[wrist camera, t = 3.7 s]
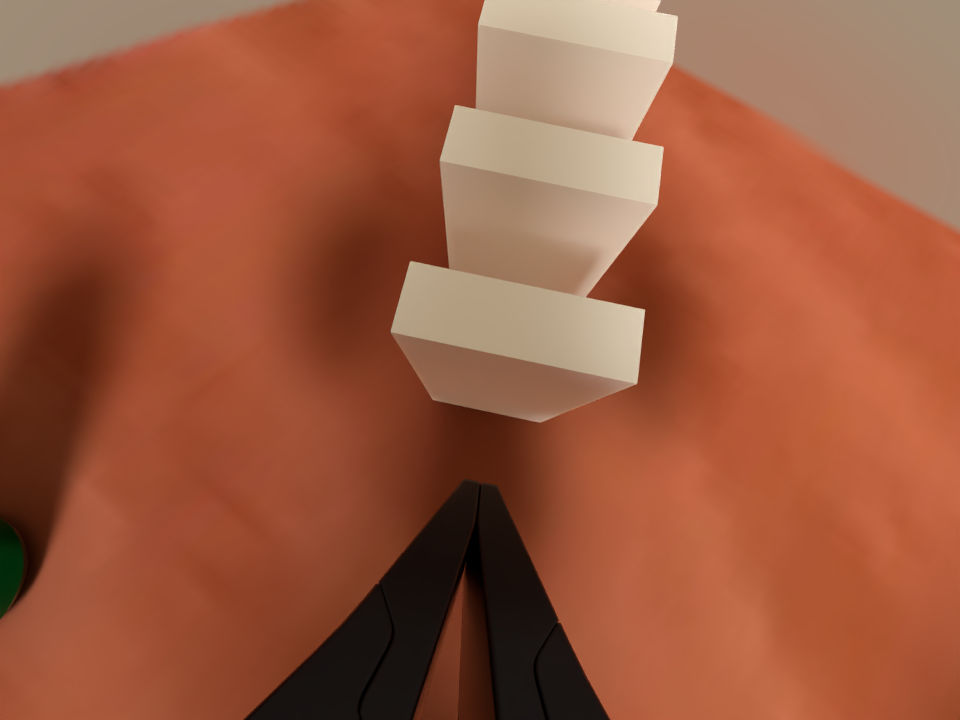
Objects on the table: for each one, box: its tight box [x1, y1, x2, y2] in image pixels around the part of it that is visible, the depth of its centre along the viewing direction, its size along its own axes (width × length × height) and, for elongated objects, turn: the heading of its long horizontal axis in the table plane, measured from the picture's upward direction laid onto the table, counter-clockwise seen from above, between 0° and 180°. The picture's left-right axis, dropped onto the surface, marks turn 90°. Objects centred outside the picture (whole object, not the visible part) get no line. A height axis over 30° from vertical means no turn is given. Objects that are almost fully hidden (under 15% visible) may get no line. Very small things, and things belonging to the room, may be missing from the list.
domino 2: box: [440, 105, 664, 297], centre depth 14 cm, size 2×5×10 cm, turn 78°
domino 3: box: [476, 0, 678, 141], centre depth 15 cm, size 2×5×10 cm, turn 78°
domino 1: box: [390, 261, 645, 423], centre depth 12 cm, size 2×5×10 cm, turn 78°
